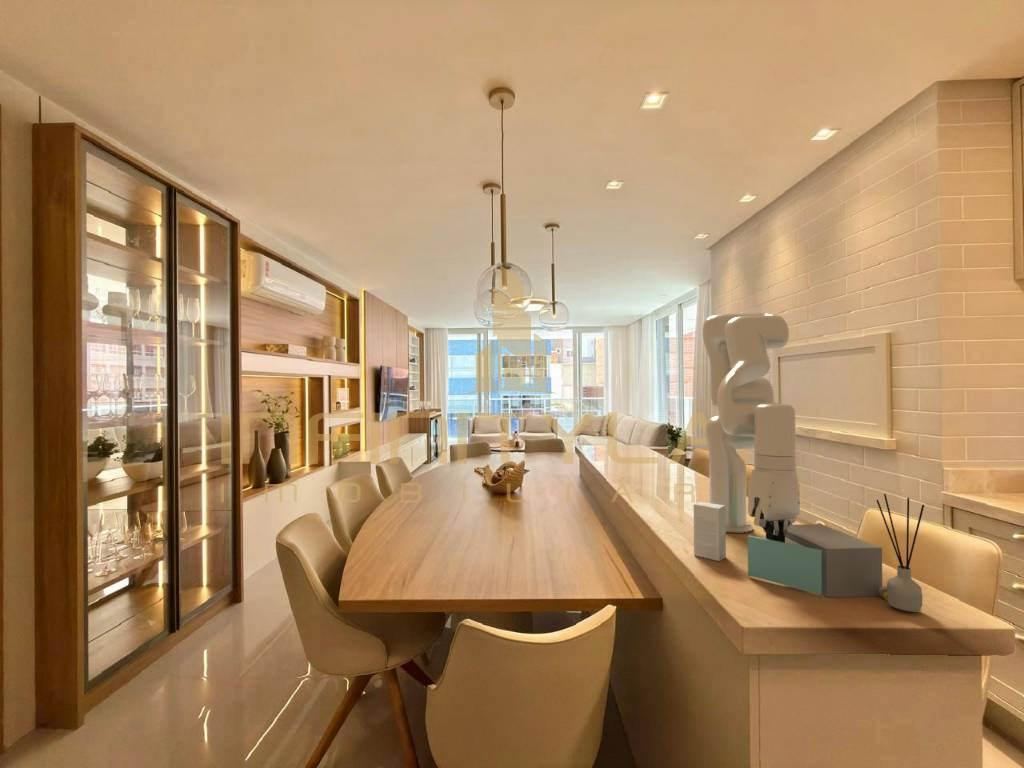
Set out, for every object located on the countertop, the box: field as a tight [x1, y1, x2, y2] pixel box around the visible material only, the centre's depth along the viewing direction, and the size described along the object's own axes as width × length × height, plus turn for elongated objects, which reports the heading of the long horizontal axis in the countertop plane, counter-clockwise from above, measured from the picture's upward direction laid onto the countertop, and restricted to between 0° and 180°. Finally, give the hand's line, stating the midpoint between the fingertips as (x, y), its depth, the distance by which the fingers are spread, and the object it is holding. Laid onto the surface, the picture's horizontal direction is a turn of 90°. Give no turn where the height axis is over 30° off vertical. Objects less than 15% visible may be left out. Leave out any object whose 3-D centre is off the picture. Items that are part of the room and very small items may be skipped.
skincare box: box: [693, 501, 727, 562], centre depth 111 cm, size 6×4×12 cm
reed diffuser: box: [876, 493, 925, 613], centre depth 85 cm, size 10×7×20 cm
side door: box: [747, 534, 822, 595], centre depth 94 cm, size 13×1×8 cm, turn 45°
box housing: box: [785, 523, 883, 598], centre depth 98 cm, size 16×11×9 cm
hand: (775, 553), depth 98 cm, fingers closed
